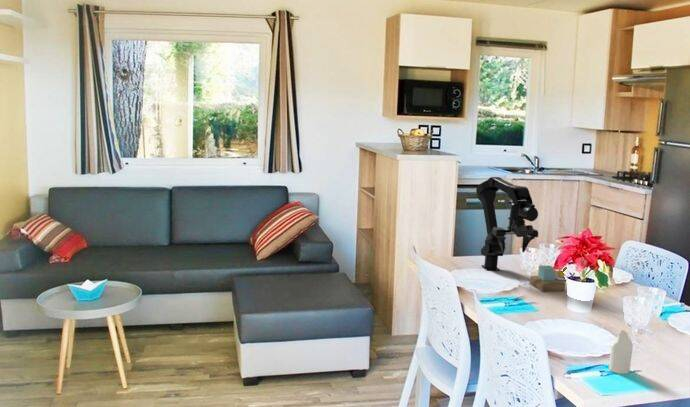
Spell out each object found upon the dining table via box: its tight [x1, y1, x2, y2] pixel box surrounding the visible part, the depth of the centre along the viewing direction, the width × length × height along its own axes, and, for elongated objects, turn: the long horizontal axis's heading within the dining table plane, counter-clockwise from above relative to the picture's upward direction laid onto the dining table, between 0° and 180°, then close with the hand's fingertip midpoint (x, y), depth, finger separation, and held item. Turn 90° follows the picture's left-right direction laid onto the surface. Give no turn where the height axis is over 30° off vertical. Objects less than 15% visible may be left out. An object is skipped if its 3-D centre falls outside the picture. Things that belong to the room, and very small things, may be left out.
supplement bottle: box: [555, 267, 567, 281], centre depth 270 cm, size 7×7×13 cm
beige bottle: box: [608, 329, 634, 375], centre depth 179 cm, size 6×12×6 cm
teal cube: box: [537, 265, 556, 281], centre depth 256 cm, size 5×5×5 cm
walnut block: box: [529, 275, 566, 293], centre depth 256 cm, size 10×10×4 cm
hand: (513, 251), depth 264 cm, fingers open, 9 cm apart
